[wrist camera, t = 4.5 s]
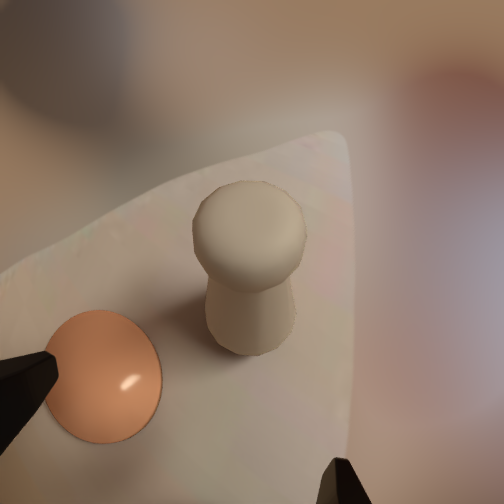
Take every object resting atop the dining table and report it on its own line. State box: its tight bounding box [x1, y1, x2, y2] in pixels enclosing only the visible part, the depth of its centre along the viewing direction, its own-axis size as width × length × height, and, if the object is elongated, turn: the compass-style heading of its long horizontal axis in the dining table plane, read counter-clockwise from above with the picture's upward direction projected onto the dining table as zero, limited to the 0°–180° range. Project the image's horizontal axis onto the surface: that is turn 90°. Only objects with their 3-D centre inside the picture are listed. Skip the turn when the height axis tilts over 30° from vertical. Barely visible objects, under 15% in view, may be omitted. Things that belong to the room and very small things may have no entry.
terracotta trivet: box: [45, 310, 163, 444], centre depth 20 cm, size 10×10×1 cm
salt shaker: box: [192, 181, 307, 356], centre depth 17 cm, size 6×6×13 cm
